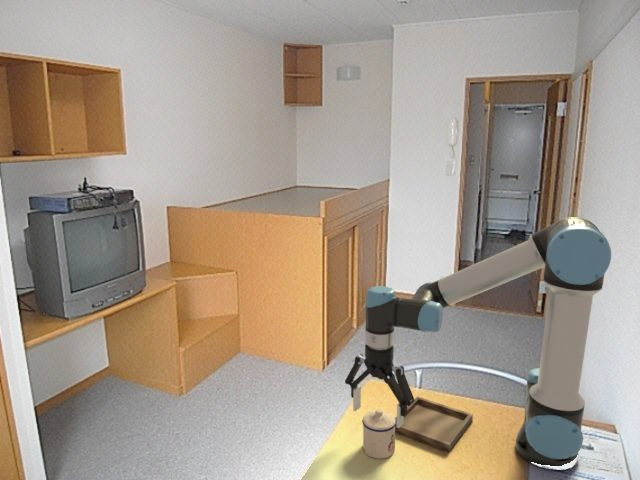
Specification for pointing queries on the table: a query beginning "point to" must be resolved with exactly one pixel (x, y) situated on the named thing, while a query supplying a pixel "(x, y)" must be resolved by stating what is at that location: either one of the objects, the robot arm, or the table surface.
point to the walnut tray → (434, 424)
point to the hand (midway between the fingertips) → (377, 416)
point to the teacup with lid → (379, 434)
